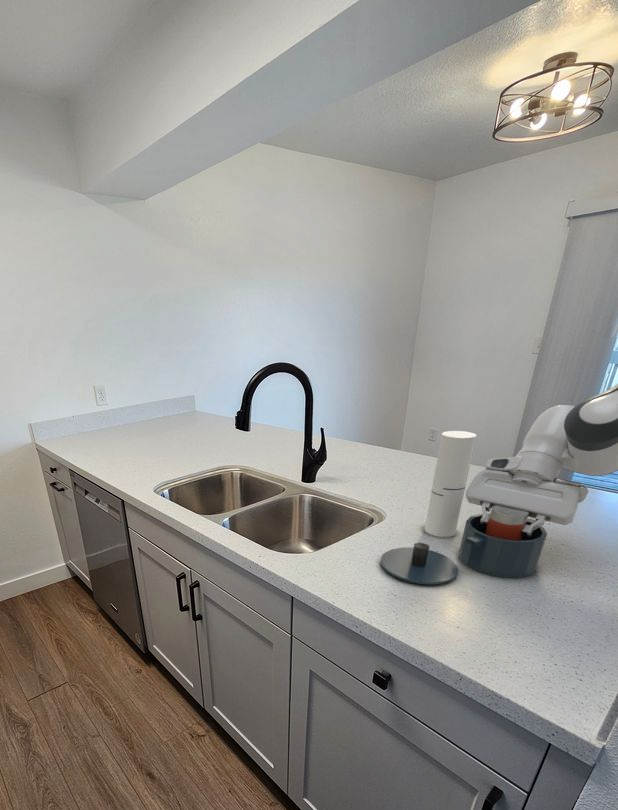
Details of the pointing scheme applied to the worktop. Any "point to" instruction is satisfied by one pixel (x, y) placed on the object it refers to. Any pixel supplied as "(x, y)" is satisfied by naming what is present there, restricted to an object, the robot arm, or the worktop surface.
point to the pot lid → (419, 565)
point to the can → (506, 522)
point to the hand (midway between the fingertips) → (504, 528)
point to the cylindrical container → (449, 482)
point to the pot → (500, 550)
